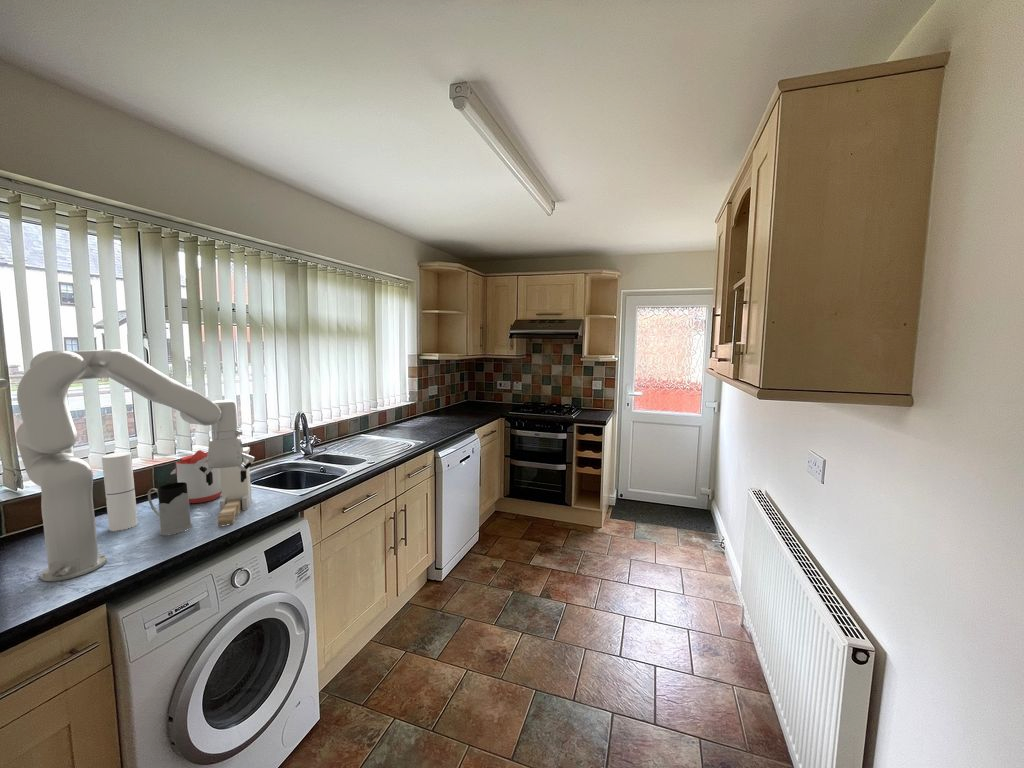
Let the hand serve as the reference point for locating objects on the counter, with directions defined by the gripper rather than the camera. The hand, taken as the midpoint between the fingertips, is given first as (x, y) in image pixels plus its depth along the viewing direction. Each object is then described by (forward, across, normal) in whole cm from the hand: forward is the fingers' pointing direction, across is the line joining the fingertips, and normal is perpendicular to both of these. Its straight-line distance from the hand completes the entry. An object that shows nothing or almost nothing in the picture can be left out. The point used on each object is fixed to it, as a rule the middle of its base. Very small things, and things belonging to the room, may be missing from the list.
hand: (226, 482), depth 147 cm
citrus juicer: (+13, +14, -27) cm, 33 cm away
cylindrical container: (+14, +31, -7) cm, 35 cm away
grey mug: (+13, +16, +2) cm, 21 cm away
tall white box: (+12, -1, -11) cm, 17 cm away
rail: (+13, -1, 0) cm, 13 cm away
